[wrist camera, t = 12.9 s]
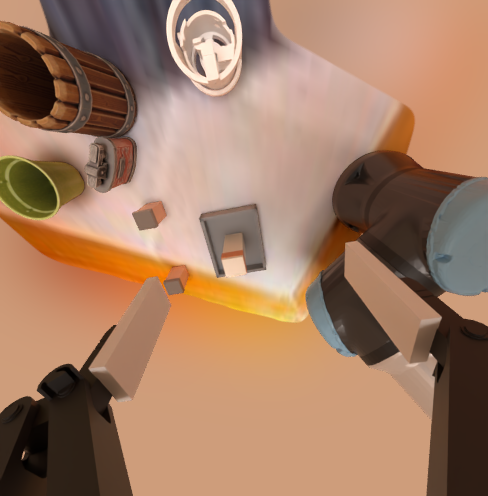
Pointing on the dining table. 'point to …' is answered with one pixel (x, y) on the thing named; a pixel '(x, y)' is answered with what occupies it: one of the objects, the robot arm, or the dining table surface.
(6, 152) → the dining table surface
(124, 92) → the mug
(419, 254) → the robot arm
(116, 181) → the lighter
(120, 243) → the dining table surface
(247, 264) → the tray
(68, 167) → the plant pot
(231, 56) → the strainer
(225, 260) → the block
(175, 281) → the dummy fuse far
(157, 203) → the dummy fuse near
